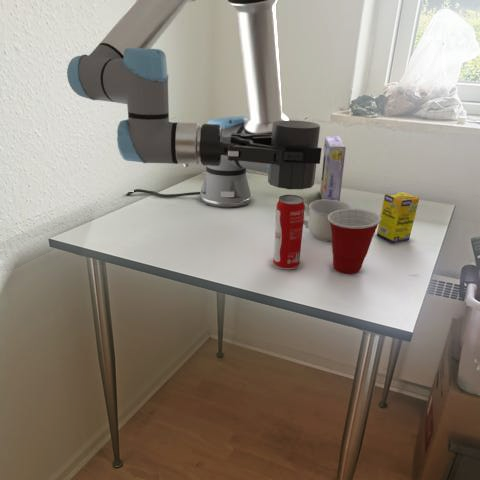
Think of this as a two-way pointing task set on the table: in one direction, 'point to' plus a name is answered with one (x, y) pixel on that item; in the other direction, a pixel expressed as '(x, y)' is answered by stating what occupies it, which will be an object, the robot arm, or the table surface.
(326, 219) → the teacup
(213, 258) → the table surface
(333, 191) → the cake pan box
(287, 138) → the dark grey cup
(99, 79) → the robot arm
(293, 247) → the beverage can
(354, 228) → the plastic cup
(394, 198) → the supplement box
